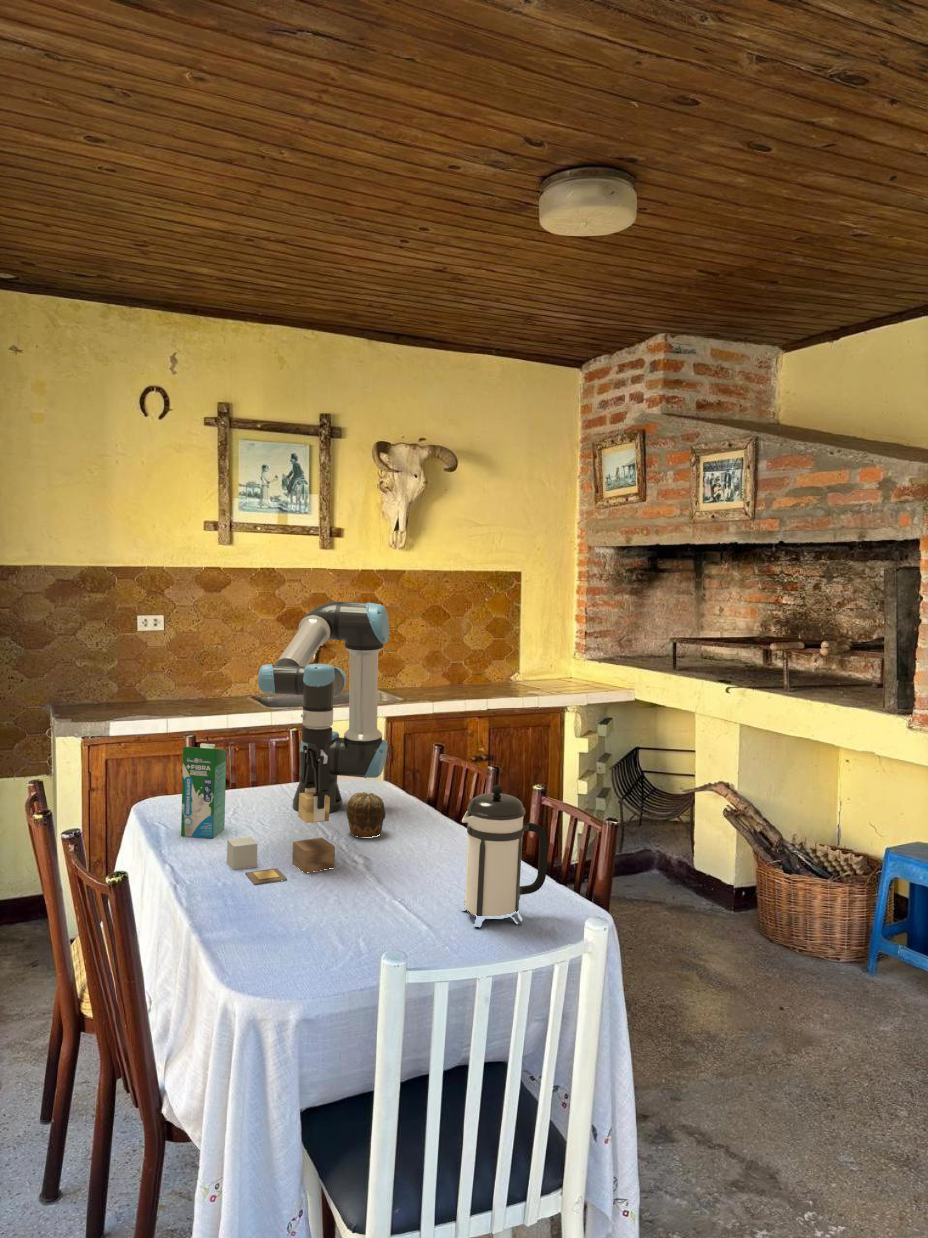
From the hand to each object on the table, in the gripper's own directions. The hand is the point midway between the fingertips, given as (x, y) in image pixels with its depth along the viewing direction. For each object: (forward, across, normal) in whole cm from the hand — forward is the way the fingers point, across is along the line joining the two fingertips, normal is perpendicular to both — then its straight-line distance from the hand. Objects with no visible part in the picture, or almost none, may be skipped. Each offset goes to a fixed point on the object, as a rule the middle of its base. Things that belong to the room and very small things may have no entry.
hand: (314, 817), depth 230 cm
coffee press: (+13, +45, +27) cm, 54 cm away
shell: (+13, -19, +22) cm, 32 cm away
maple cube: (0, 0, 0) cm, 0 cm away
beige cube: (+13, -8, -16) cm, 22 cm away
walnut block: (+13, 0, 0) cm, 13 cm away
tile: (+13, +3, -13) cm, 18 cm away
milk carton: (+13, -37, -19) cm, 44 cm away
